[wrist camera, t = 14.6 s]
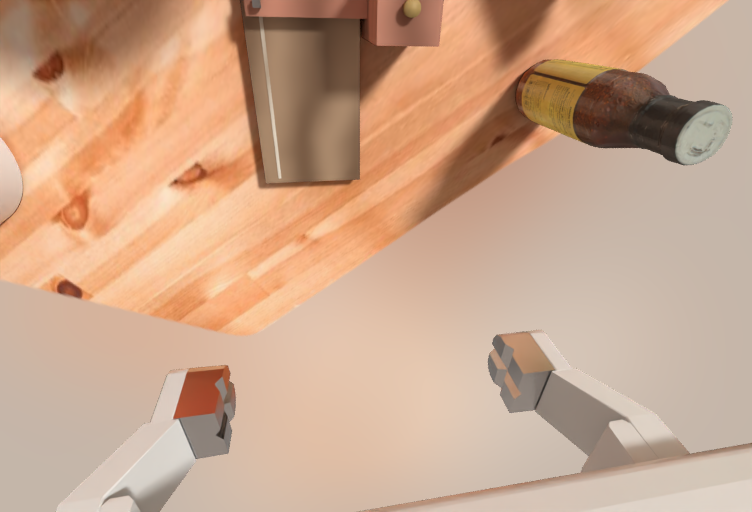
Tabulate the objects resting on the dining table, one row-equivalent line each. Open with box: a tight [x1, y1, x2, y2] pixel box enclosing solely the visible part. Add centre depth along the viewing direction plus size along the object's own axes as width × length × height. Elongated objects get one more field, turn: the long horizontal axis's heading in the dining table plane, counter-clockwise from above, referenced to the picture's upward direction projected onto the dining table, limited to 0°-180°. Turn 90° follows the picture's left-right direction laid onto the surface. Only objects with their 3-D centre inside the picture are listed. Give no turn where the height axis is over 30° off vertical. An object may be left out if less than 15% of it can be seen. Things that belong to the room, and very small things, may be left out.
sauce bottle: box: [516, 59, 732, 165], centre depth 33 cm, size 7×6×20 cm
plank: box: [240, 0, 360, 183], centre depth 36 cm, size 10×22×2 cm, turn 179°
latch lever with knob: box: [244, 0, 444, 46], centre depth 31 cm, size 15×5×9 cm, turn 89°
